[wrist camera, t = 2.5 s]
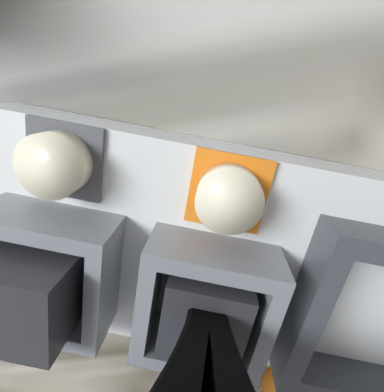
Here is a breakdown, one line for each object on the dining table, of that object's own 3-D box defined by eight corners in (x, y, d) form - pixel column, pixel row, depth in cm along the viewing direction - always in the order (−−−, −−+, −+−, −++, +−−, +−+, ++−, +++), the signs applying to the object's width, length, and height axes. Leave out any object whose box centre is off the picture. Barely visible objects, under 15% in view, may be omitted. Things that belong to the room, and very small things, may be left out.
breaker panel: (400, 354, 16) (478, 464, 11) (29, 278, 16) (-48, 352, 12) (498, 193, 12) (672, 252, 8) (21, 103, 13) (-92, 106, 8)
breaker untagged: (83, 314, 12) (48, 370, 9) (9, 299, 12) (-43, 351, 9) (85, 249, 10) (47, 294, 8) (4, 233, 10) (-57, 272, 8)
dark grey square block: (233, 322, 13) (237, 373, 10) (165, 308, 13) (153, 355, 10) (250, 264, 11) (259, 306, 9) (176, 249, 12) (165, 287, 9)
